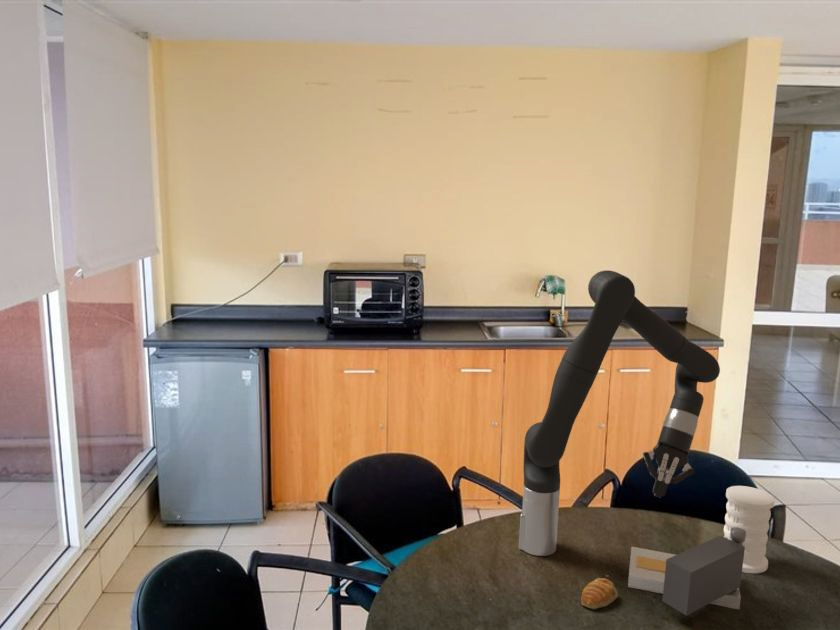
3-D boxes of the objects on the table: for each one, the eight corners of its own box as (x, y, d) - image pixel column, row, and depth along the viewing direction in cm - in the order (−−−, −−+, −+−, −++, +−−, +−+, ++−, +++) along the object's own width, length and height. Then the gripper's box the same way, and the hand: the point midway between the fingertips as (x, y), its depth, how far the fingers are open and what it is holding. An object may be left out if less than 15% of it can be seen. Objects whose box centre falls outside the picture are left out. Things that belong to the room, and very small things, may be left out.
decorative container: (756, 579, 161) (765, 510, 158) (709, 559, 170) (716, 493, 166) (775, 562, 169) (783, 496, 166) (729, 544, 177) (736, 481, 174)
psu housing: (627, 586, 157) (632, 536, 154) (630, 557, 170) (634, 510, 167) (740, 609, 149) (746, 556, 146) (733, 577, 162) (739, 527, 159)
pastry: (599, 616, 146) (600, 600, 145) (572, 603, 150) (573, 588, 150) (619, 598, 153) (620, 583, 152) (593, 586, 157) (593, 571, 156)
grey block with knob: (686, 615, 141) (691, 563, 138) (662, 601, 146) (667, 550, 143) (749, 582, 153) (754, 534, 151) (725, 570, 158) (730, 523, 156)
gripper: (654, 420, 163) (632, 487, 161) (709, 439, 160) (687, 508, 158) (649, 421, 170) (628, 485, 168) (702, 439, 167) (681, 505, 165)
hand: (657, 496), depth 163 cm, fingers closed
